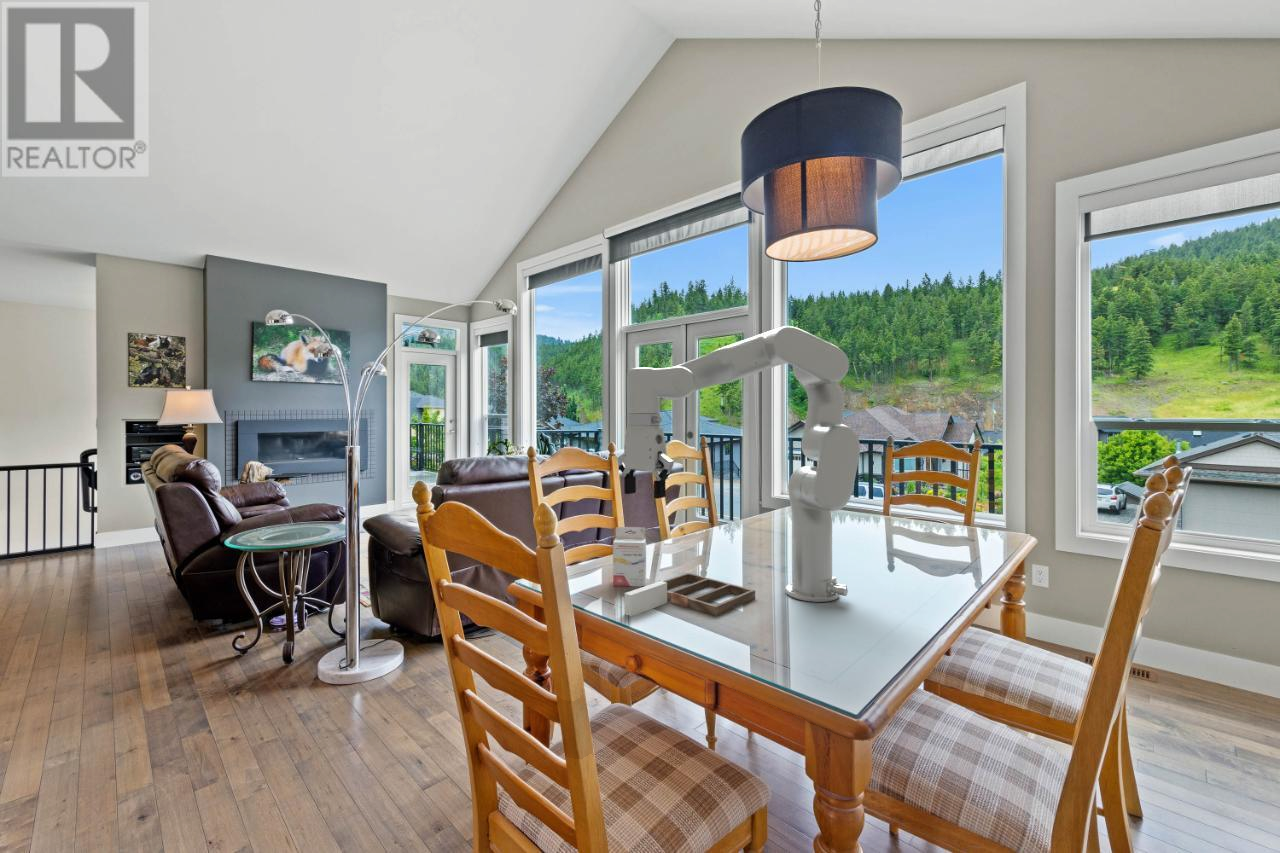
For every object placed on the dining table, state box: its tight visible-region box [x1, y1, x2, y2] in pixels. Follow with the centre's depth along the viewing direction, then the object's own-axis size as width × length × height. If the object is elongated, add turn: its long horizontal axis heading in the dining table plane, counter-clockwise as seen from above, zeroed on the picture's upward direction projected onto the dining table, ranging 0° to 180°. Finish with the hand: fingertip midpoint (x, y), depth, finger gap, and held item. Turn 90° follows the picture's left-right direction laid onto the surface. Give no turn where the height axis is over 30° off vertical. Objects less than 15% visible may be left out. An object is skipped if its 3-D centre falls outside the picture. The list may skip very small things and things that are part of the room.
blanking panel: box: [624, 580, 668, 617], centre depth 128 cm, size 2×12×5 cm, turn 135°
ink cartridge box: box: [612, 526, 647, 587], centre depth 146 cm, size 9×5×15 cm, turn 84°
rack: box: [662, 572, 756, 617], centre depth 135 cm, size 21×16×2 cm
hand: (644, 495), depth 127 cm, fingers open, 9 cm apart
